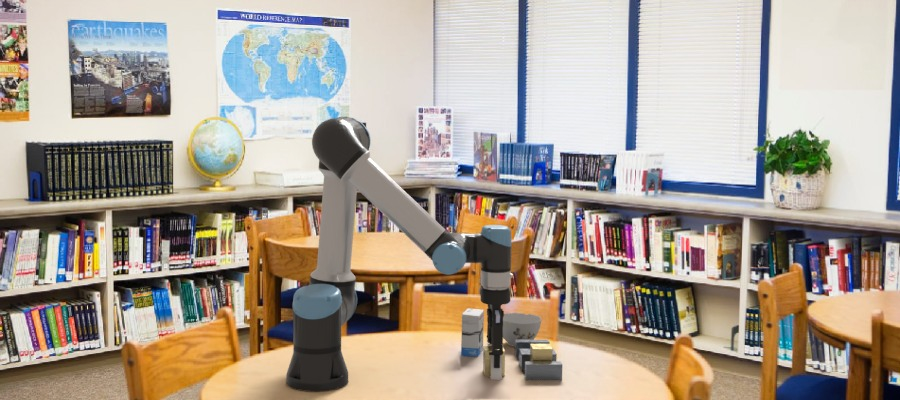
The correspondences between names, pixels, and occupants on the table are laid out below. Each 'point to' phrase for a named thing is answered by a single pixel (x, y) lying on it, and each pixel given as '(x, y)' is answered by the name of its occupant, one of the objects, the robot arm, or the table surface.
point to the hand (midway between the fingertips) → (494, 374)
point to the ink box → (472, 332)
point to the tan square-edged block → (488, 361)
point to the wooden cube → (541, 352)
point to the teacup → (520, 327)
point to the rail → (537, 362)
